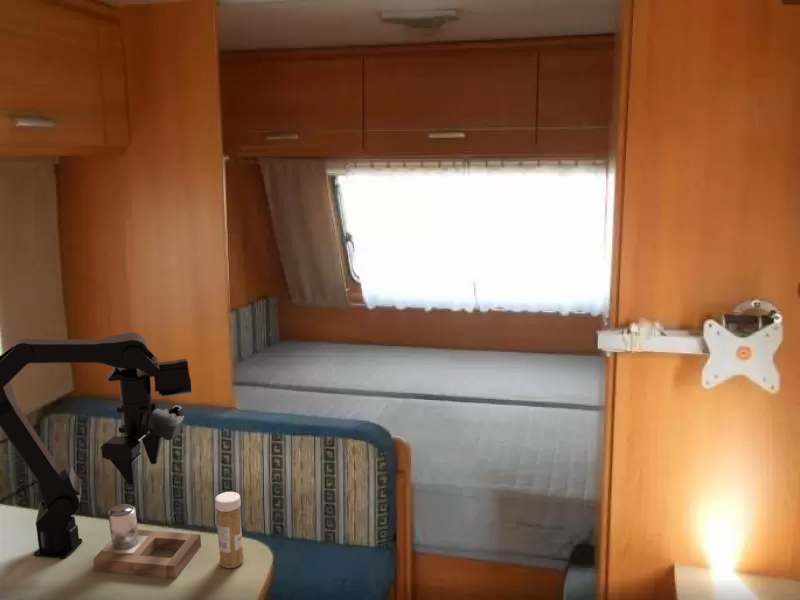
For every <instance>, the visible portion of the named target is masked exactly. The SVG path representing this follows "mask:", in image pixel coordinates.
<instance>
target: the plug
mask: <svg viewBox="0 0 800 600" xmlns="http://www.w3.org/2000/svg"><path fill="white" fill-rule="evenodd" d="M136 513H137V512H136V507H135V506H133V505H131V504H129V503H123V504H118V505H116V506H113V507H112V508H110V510H109V511H108V513H107V515H108V521H109V522H108V524H109V529H110V530H109V531H110V540H111V541H112V547H113V548H114V549H117V550H125V549H129V548H132V547H134V546H135V545H137V544H138V542H139V536H138V530H139V529H138V521H137V520H138V519H137V514H136Z"/></svg>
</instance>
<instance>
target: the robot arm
mask: <svg viewBox="0 0 800 600" xmlns="http://www.w3.org/2000/svg"><path fill="white" fill-rule="evenodd" d="M148 347H149V346H148V343H147V340H146V339H145V337H144V336H143V335H141V334H140V333H138V332H126V333H118V334H114V335H110V336H107V337H102V338H99V339H98V338H97V339H49V338H48V339H36V338H35V339H31V338H29V337H27V338H26V337H24V338H20V339H18V340H17V341H16V342H15V343H14V344H13V345H12V346H11V347H10V348H8V349H7V350H6V351H4V352H3V353H2V354H1V355H0V428H1V429H2V431H3V433H4V434H5V436H6V437H7V439H8V440H9V442H10V443H11V445H12V446H13V447H14V449H15V451H16V452H17V453H18V455H19V456H20V457H21V459H22V460H23V462H24V463H25V465H26V466H27V468H28V469H29V471H30V472H31V474H32V475H33V476H34V478H35V479H36V482H37V486H38V489H39V492H40V496H41V498H42V500H41V501H40V502H39V506H38V511H37V515H36V520H35V527H36V535H37V542H38V543H37V544H38V549H37V550H36V551H34V552H33V556H35V557H42V558H55V559H65V558H67V557H68V556H69V555H70V554H72V552H73V551H74V550H75V549H76V548H77V547H79V545H81V544H82V543H83V539H82V538H80V534H79V525H78V524H76V518H75V516H73V515H75V514H76V513H77V511H78V510H79V509H80V508H79V507H80V504H81V503H80V502H81V494H82V478H80V477H79V476H78V475H77V474H76V472H75V470H74V467H73V465H71V464H69V465H67V467H65V468H64V467H63V466H61V465H59V464H58V462H56V460H55V459H54V457H53V456H52V454H51V452H49V449H48V448H47V447H46V445H45V444H44V442H43V440H42V439H41V438H40V437H39V435H38V433H37V432H36V430H35V429H34V427H33V425H32V424H31V423H30V421H29V420H28V419H27V417H26V415H25V414H24V412H23V411H22V410H21V408H20V406H19V405H18V402H17V400H16V395H15V393H14V389H13V386H12V383H11V381H12V380H13V378H15V377H16V376H17V374H18V373H20V372H21V371H22V369H24V368H25V367H26V366H27V365H29V364H68V363H69V364H73V363H74V364H78V363H79V364H80V363H81V364H84V363H85V364H86V363H89V364H90V363H91V364H92V363H94V364H95V363H96V364H103V365H106V366H109V367H112V368H113V369H112V370H111V371H109V372H108V376H107V379H108V382H116V381H118V385H119V394H120V404H119V405H118V406H117V407H116V412H117V413H118V414H119V413H121V418H122V419H121V420H122V425H120V426H119V427H118V433H119V434H122V433H123V434H125V435H126V436H118V435H114V436H112V437H110V439H108V440H107V441H105V442H104V443H103V444H102V445H101V446H100V456H101V458H102V459H105V460H107V461H110V462H111V463H112V464H113V465H114V466H115V467H116V469H117V470H118V472H119V473H120V474H121V476H122V477H123V479H124V480H125V482H126V483H127V484H128V485H132V486H133V485H135V479H136V460H137V459H138V458H139V456H141V455H142V452H140V451H141V448H142V445H141V440H142V444H143V446H144V448H145V449H144V450H145V452H146V455H147V458H148V460H149V463H150V464H151V465H156V464H158V459H159V455H160V451H161V450H160V449H161V446H162V442H163V440H166V441H172V440H174V439H175V437H176V436H177V435H179V434H180V432H181V429H182V425H183V424H184V423H186V419H185V415H184V410H183V409H184V408H183V407H182V406H180V405H177V404H176V405H173V407H171V409H167V408H165V409H161V408H160V407H159V402H157V399H153V394H152V384H151V383H152V382H151V378H152V377H153V381H154V382H153V383H154V392H156V393H158V395H161V397H168V396H169V397H170V396H176V395H177V396H179V395H186V394H192V384H191V383H192V382H191V381H192V380H191V376H190V371H189V364H188V363H189V362H188V359H187V358H180V359H176V360H169V361H161V362H160V361H159V358H158V357H157V356H156V355H155V354H154V353H153V352H152V351H151V350H150V349H149V348H148Z"/></svg>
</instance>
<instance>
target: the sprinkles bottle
mask: <svg viewBox="0 0 800 600" xmlns="http://www.w3.org/2000/svg"><path fill="white" fill-rule="evenodd" d="M241 503H242V502H241V495H240V494H239V493H237V492H235V491H226V492H225V491H224V492H222V493H220V494H218V495H216V497H215V498H214V505H215V506H214V507H215V511H216V527H217V539H218V549H219V565H220V566H222V567H223V568H227V569H233V568H237V567H239V566H241V565H242V564H243V563H244V560H245V558H244V550H243V549H244V548H243V547H244V546H243V543H244V542H243V533H242V532H243V531H242V521H241Z"/></svg>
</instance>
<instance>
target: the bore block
mask: <svg viewBox="0 0 800 600" xmlns="http://www.w3.org/2000/svg"><path fill="white" fill-rule="evenodd" d="M138 536H139V542H138V544H137V545H135V546H134V547H132V548H129V549H125V550H117V549H114V548H113V547H112V540H111V541H110V542H108V543H107V544H106V546H104V547H103V548H102V549H101V550H100V551H99V553H97V554H96V555H95V556H94V558H93V559H92V561H93V569H94V571H93V572H100V573H109V574H110V573H112V574H120V575H122V574H123V575H133V576H144V577H147V576H148V577H155V578H156V577H157V578H167V579H168V578H169V579H177V578H178V577H179V575H180V574H181V573H182V572H183V570H184V569H185V568H186V567H187V565H188V564H189V563H190V562H191V560H192V559H193V558H194V556H195V555H196V554H197V552H198V551H199V550H198V549H200V548H201V547H202V542H201V541H202V540H201V534H200V533H199V534H197V533H186V532H175V531H174V532H171V531H159V530H146V529H138ZM156 550H161V551H174V552H175V553H174V554H173V556H172V557H161V556H153V553H154V552H155V551H156ZM195 553H196V554H195Z"/></svg>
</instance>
